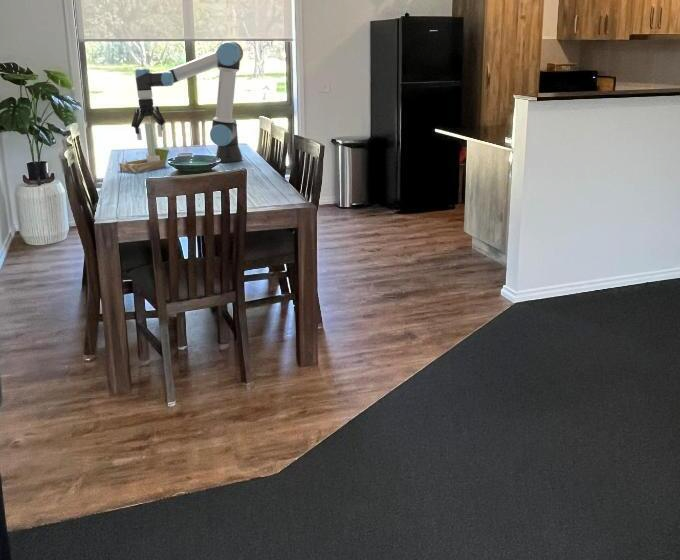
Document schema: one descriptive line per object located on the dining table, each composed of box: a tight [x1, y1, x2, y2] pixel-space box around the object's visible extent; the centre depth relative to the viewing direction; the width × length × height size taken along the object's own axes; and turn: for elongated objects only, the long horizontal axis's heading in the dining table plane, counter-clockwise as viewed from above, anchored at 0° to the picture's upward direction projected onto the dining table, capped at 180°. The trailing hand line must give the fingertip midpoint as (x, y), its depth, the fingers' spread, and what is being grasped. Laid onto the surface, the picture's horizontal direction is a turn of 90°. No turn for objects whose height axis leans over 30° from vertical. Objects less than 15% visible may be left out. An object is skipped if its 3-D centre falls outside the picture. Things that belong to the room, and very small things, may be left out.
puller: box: [144, 122, 160, 163], centre depth 404 cm, size 11×2×24 cm, turn 49°
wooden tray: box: [118, 158, 167, 173], centre depth 402 cm, size 15×19×4 cm
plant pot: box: [155, 147, 170, 166], centre depth 409 cm, size 9×9×9 cm
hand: (150, 138), depth 403 cm, fingers open, 13 cm apart
